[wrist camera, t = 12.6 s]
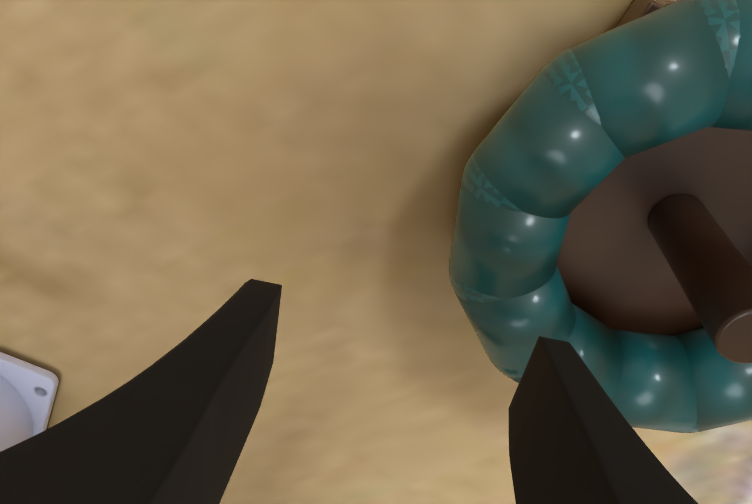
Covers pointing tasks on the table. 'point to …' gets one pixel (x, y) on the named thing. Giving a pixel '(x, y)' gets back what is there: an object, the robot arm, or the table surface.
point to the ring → (578, 179)
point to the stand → (669, 238)
